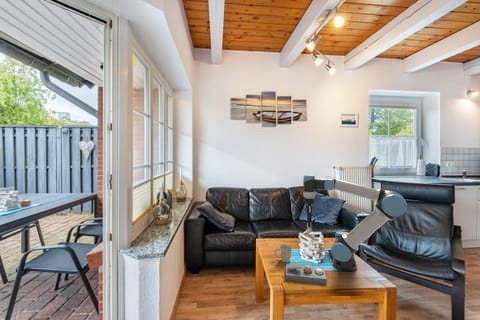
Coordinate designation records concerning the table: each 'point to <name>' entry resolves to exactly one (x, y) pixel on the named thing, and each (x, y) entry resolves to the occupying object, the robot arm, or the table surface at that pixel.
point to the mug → (284, 252)
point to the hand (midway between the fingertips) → (309, 231)
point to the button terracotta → (307, 269)
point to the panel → (306, 275)
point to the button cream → (319, 271)
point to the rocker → (294, 266)
